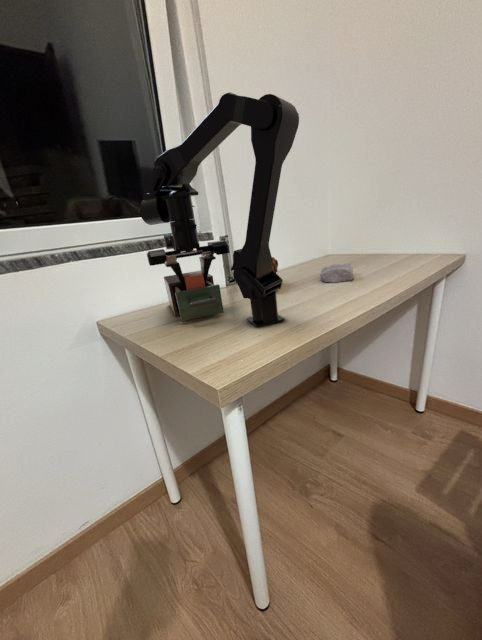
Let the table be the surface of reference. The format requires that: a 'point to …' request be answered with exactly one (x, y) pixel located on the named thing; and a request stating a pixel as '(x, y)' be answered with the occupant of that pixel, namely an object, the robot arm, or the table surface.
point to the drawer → (198, 301)
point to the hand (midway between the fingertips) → (195, 288)
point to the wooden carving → (274, 265)
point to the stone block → (337, 273)
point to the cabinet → (174, 281)
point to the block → (194, 281)
